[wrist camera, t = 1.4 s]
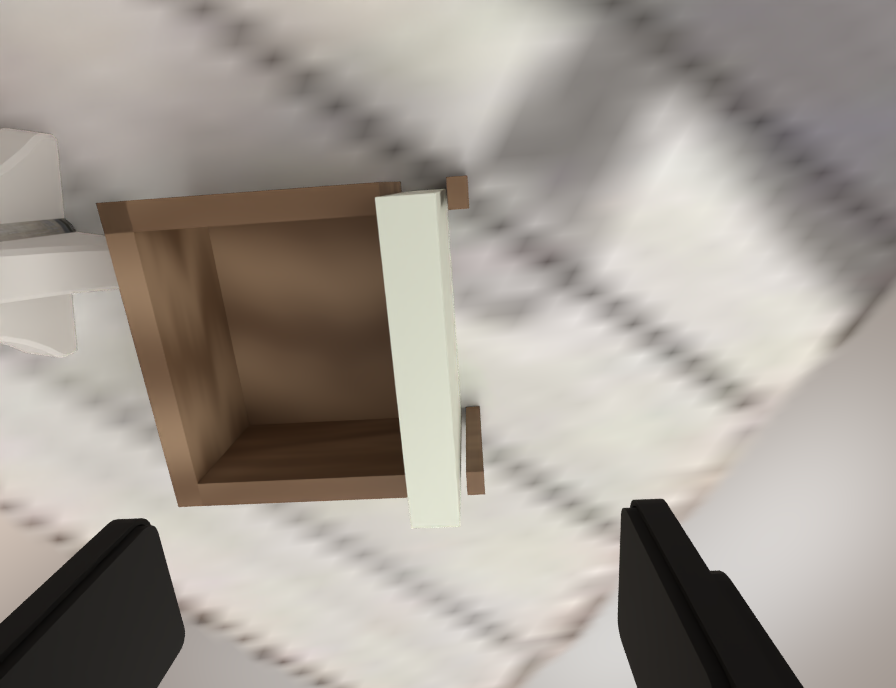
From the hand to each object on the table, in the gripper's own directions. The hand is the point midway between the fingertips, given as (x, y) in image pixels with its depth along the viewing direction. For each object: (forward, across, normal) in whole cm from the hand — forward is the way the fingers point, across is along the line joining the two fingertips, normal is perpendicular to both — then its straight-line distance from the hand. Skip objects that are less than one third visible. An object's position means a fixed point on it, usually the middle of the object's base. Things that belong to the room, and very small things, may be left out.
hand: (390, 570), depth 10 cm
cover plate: (+19, 0, -1) cm, 19 cm away
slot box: (+19, +6, -1) cm, 20 cm away
